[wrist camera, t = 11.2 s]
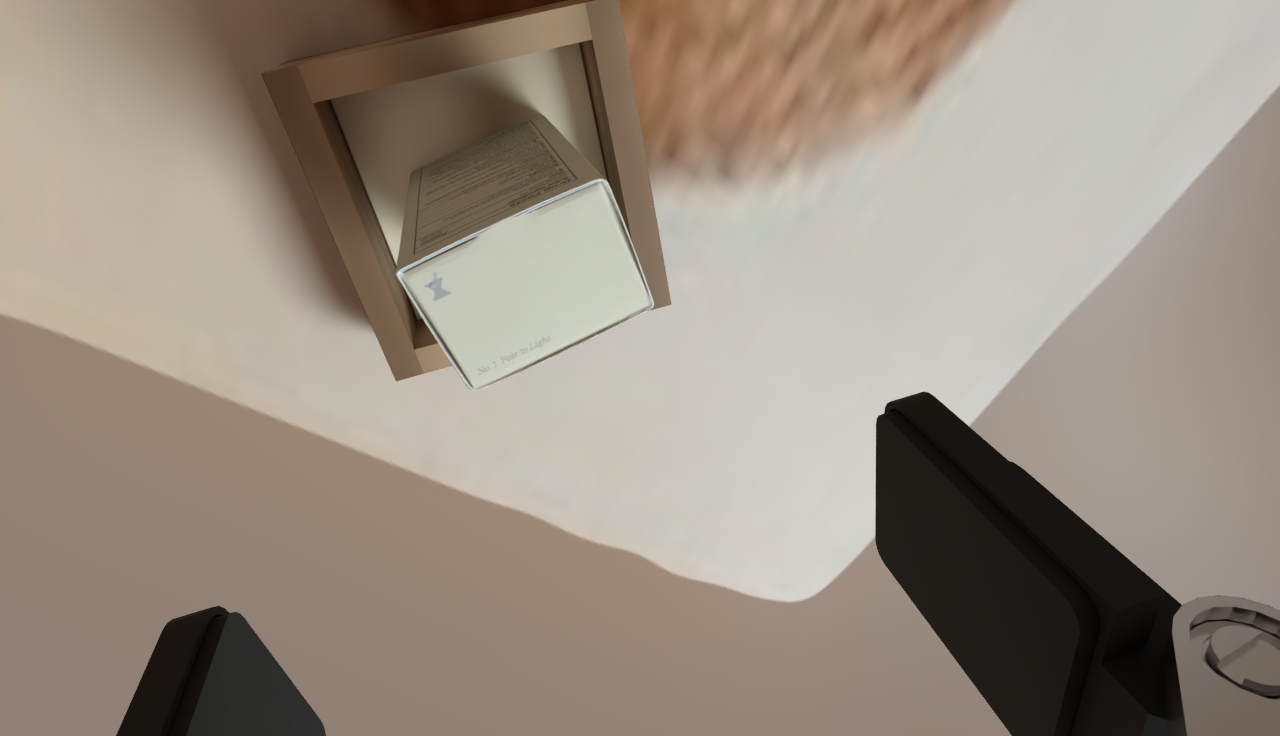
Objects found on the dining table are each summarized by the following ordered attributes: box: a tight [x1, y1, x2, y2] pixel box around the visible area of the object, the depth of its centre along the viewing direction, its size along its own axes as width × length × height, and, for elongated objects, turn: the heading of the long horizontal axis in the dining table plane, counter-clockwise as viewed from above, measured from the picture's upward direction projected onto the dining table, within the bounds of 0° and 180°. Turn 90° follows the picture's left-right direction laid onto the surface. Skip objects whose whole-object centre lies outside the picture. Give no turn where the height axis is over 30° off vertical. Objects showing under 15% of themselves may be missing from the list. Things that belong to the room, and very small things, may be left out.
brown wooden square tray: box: [261, 0, 671, 381], centre depth 28 cm, size 12×12×4 cm
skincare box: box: [395, 115, 654, 391], centre depth 24 cm, size 6×4×12 cm
